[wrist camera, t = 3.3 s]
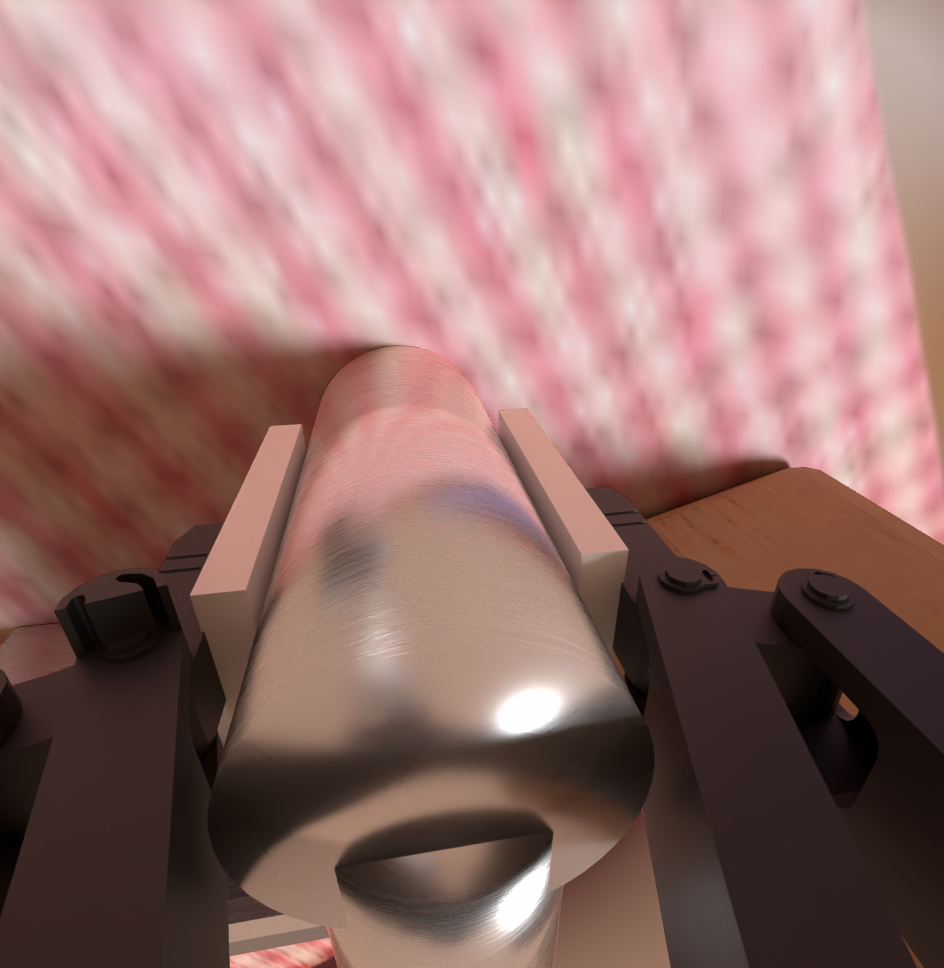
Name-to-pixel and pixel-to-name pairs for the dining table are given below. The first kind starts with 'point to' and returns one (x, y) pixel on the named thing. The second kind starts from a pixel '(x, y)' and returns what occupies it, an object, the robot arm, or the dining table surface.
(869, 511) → the block
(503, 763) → the elbow
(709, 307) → the dining table surface
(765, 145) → the dining table surface
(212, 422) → the dining table surface
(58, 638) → the duct socket
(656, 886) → the robot arm
